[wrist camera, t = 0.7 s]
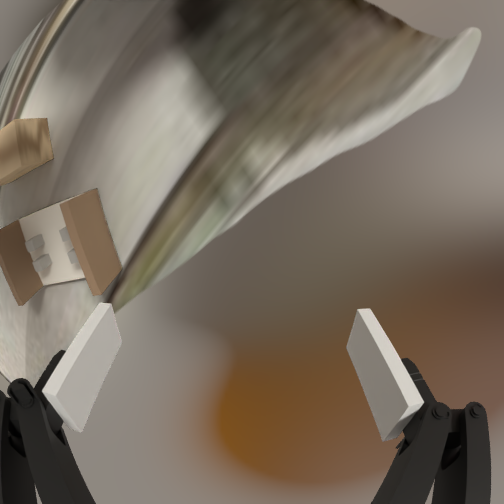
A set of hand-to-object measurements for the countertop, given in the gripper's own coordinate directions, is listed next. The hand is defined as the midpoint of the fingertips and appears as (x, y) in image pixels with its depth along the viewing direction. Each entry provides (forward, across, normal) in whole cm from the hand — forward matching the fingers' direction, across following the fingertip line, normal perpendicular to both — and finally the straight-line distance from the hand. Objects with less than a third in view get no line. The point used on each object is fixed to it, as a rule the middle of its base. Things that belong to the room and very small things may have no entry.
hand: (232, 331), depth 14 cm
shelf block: (+26, -36, +11) cm, 45 cm away
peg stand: (+25, -29, -5) cm, 39 cm away
